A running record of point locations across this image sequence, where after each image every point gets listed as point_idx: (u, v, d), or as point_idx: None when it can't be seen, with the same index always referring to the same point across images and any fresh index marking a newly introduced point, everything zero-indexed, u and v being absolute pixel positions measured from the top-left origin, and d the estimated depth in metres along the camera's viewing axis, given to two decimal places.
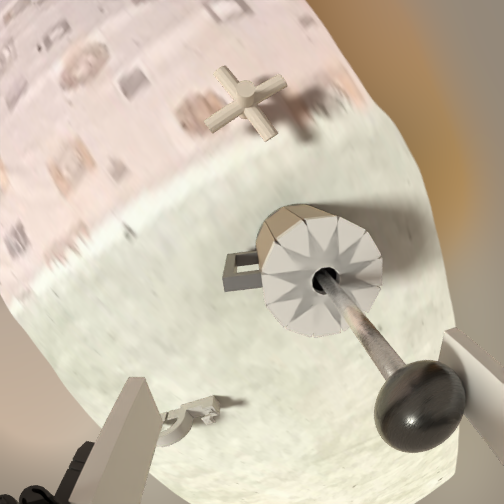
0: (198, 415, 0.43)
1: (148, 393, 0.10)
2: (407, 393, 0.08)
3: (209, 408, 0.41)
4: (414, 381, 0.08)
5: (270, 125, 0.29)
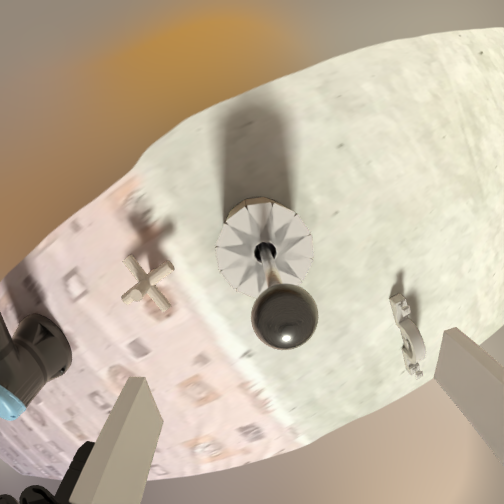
0: None
1: (148, 393, 0.10)
2: None
3: (397, 306, 0.48)
4: None
5: (161, 267, 0.41)
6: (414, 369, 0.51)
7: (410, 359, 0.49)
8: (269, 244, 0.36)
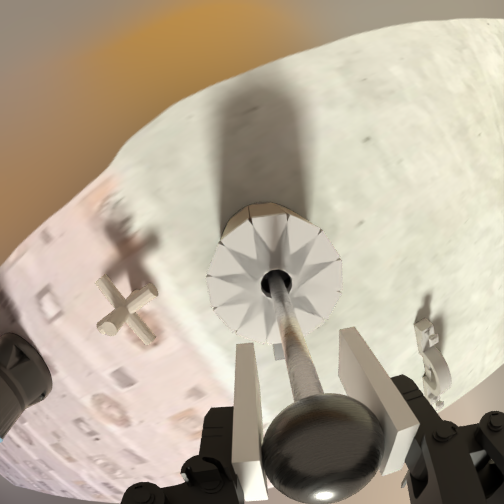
0: None
1: (255, 358, 0.12)
2: None
3: (424, 334, 0.38)
4: None
5: (141, 293, 0.32)
6: (434, 399, 0.41)
7: (432, 390, 0.39)
8: None
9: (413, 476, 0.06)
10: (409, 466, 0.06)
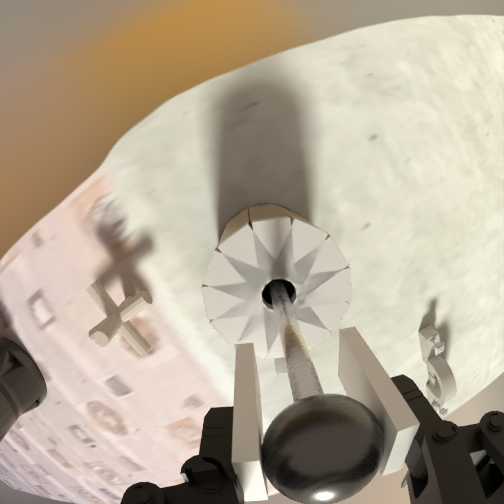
0: None
1: (255, 358, 0.12)
2: None
3: (429, 342, 0.36)
4: None
5: (134, 300, 0.30)
6: (438, 406, 0.39)
7: (436, 398, 0.37)
8: None
9: (413, 476, 0.06)
10: (409, 466, 0.06)
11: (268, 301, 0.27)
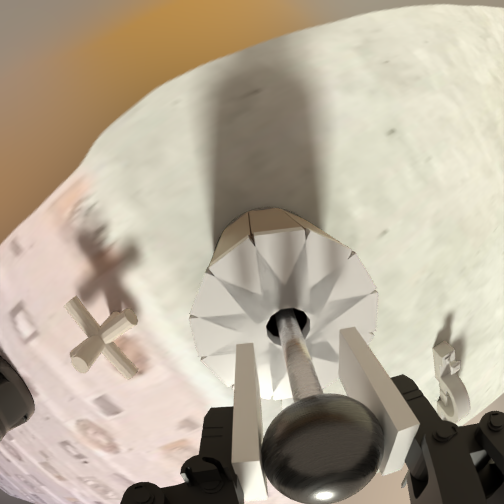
0: (450, 365, 0.32)
1: (254, 358, 0.12)
2: None
3: (444, 360, 0.31)
4: None
5: (117, 320, 0.25)
6: None
7: (447, 416, 0.32)
8: None
9: (414, 476, 0.06)
10: (409, 466, 0.06)
11: None
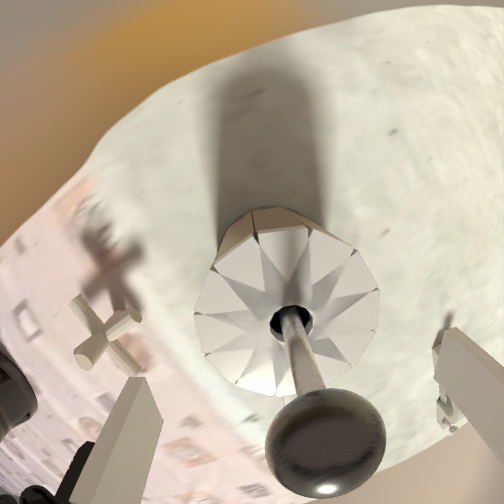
0: None
1: (148, 393, 0.10)
2: None
3: None
4: None
5: (121, 318, 0.25)
6: (448, 423, 0.35)
7: (447, 417, 0.32)
8: None
9: None
10: None
11: None
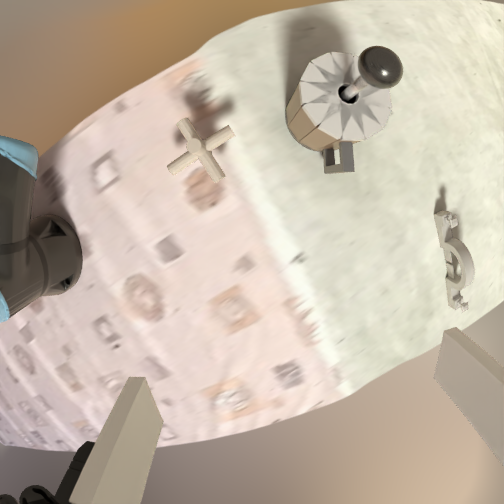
0: (450, 232, 0.44)
1: (148, 393, 0.10)
2: (367, 75, 0.19)
3: (444, 219, 0.42)
4: (363, 72, 0.19)
5: (221, 130, 0.36)
6: (458, 302, 0.46)
7: (457, 285, 0.44)
8: None
9: None
10: None
11: None
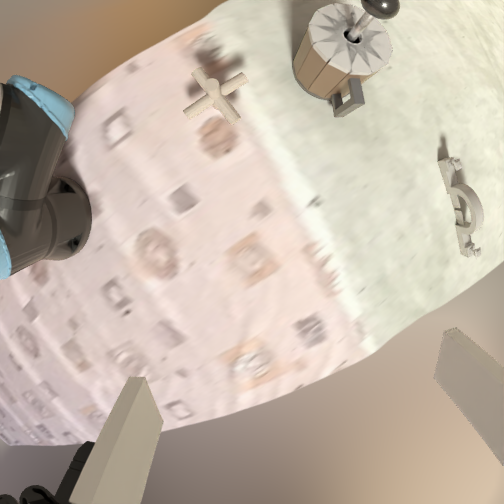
0: (455, 177, 0.43)
1: (148, 393, 0.10)
2: (370, 6, 0.18)
3: (448, 164, 0.42)
4: (366, 4, 0.18)
5: (235, 76, 0.35)
6: (471, 249, 0.45)
7: (468, 230, 0.43)
8: None
9: None
10: None
11: None
